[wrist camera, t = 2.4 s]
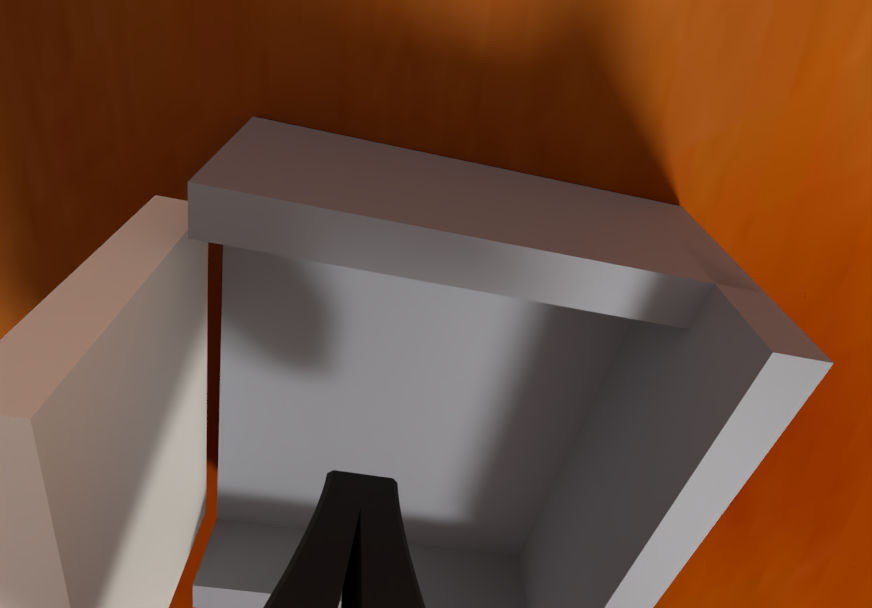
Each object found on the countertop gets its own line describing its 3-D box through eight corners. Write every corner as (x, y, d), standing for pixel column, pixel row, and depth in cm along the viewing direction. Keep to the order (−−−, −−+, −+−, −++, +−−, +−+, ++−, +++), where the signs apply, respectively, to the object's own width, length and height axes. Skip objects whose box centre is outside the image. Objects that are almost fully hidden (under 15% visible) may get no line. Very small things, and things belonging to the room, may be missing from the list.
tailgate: (154, 504, 16) (28, 765, 11) (134, 190, 11) (-112, 399, 6) (205, 511, 16) (105, 771, 11) (208, 204, 11) (29, 419, 6)
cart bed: (235, 486, 19) (163, 690, 13) (252, 116, 12) (131, 237, 7) (530, 524, 20) (566, 724, 15) (681, 206, 14) (833, 363, 9)
